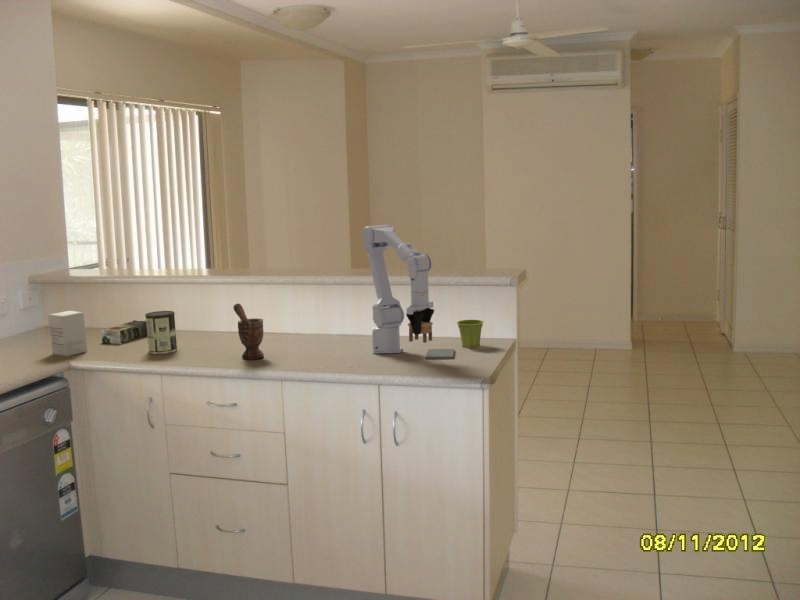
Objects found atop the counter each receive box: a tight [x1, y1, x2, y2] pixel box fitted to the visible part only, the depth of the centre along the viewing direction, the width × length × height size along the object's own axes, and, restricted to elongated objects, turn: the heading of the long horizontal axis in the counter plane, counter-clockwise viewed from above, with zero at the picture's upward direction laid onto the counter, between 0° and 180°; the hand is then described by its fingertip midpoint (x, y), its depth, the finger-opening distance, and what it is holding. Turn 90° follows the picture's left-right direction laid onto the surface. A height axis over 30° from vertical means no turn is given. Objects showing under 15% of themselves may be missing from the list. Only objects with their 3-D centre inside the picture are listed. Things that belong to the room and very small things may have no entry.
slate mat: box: [425, 348, 455, 360], centre depth 301 cm, size 9×12×1 cm
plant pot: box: [456, 319, 484, 349], centre depth 313 cm, size 9×9×9 cm
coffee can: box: [144, 310, 178, 355], centre depth 323 cm, size 10×10×14 cm
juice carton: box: [101, 320, 148, 345], centre depth 350 cm, size 20×10×6 cm, turn 156°
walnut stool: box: [407, 321, 433, 343], centre depth 292 cm, size 6×5×6 cm
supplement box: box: [48, 310, 88, 357], centre depth 325 cm, size 9×9×15 cm
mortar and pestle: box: [233, 303, 265, 361], centre depth 304 cm, size 12×9×20 cm
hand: (420, 332), depth 292 cm, fingers closed on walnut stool, 5 cm apart
